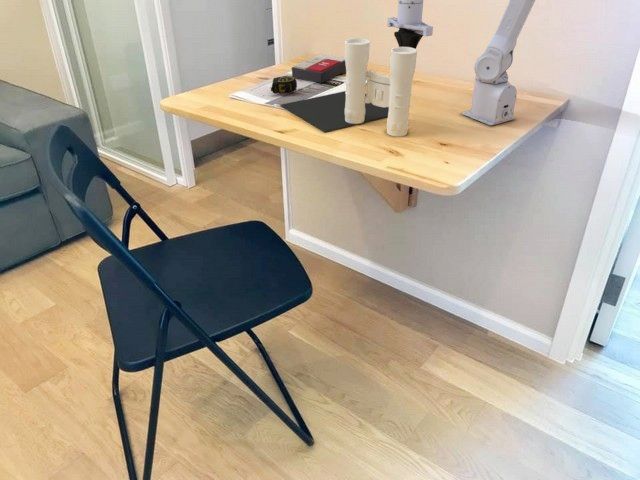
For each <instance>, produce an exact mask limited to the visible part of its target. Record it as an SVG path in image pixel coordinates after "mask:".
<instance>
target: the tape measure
mask: <svg viewBox="0 0 640 480" xmlns="http://www.w3.org/2000/svg"><path fill="white" fill-rule="evenodd" d="M297 88H298V83H297V78H294V77H292V75H282V76H276V77H273V79H272V83H271V86H270V91H271V92H272V93H273V94H291V93H294V92H295V91H296V90H297Z"/></svg>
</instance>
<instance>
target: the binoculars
mask: <svg viewBox="0 0 640 480" xmlns="http://www.w3.org/2000/svg"><path fill="white" fill-rule="evenodd" d="M370 44H371V41H370V40H369V39H366V38H361V37H360V38H359V37H353V38H348V39H346V40H345V41H344V57H345V63H346V73H345V77H346V78H345V91H346V92H345V94H346V102H345V121H346V122H347V123H351V124H358V125H360V124H359V123H362V122H364V117H365V110H366V109H365V103H372V104H373V105H376V106H379V107H389V112H388V117H387V120H386V134H387V135H389V136H392V137H404V136H407V135H408V129H409V126H410V108H411V96H412V87H413V81H414V80H413V79H414V75H415V71H416V67H417V56H418V49H417V48H416V49H414V48H411V47H399V46H396V47H392V48H391V49H390V59H389V75H385V74H381V73H378V72H376V71H373V70H371V69H368V66H369V65H368V64H369V59H370ZM365 94H366V96H365ZM362 124H363V123H362Z"/></svg>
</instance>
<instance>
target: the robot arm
mask: <svg viewBox="0 0 640 480" xmlns="http://www.w3.org/2000/svg"><path fill="white" fill-rule="evenodd" d="M397 1H398V3H397V4H398V5H397V17H394V16H392V17H387V22H386V23H387V25H386V26H387V27H388V28H395V29H398V30H397V31H394V33H393V36H394V37H395V39H396V43H397V45H398V47H411V48H414V49H416V50H417V47H418V45H419V43H420V41H421V40H422V38H423V37H431V36H433V32H434V27H433V25H429V24H427V23H426V22H423V8H424V0H397ZM535 3H536V0H509V1H508V3H507V6H506V8H505V10H504V13H503V15H502V18H501V19H500V21H499V24H498V26H497V28H496V30H495V33H494V35H493V37H492V38H491V39H490V41H489V43H488V44H487V46H486V49H485V50H484V52H483V53H482V54H481V55H480V56H478V58H476V60H475V63H474V66H473V67H474V69H473V70H474V73H475V77H474V85H473V92H472V99H471V105H470V110H465V111H463V112H462V115H463V116H466V117H467V118H471V119H473V120H475V121H478V122H481V123H483V124H485V125H488V126H495V125H498V124H499V125H500V124H502V123H507V122H509V121H513V120H515V116H514V112H515V105H516V101H517V94H518V92H517V88H516V86H515V85H512V84H511V83H510V81H509V74H508V73H507V70H509V69H510V67H511V66H512V64H513V61H514V50H515V48H516V47H517V40H518V38H519V36H520V34H521V31H522V29H523V28H524V26H525V24H526V21H527V19H528V17H529V15H530V13H531V10H532V8H533V6H534V4H535Z"/></svg>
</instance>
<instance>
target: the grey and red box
mask: <svg viewBox="0 0 640 480" xmlns="http://www.w3.org/2000/svg"><path fill="white" fill-rule="evenodd" d="M341 74H342V75H343V74H346V63H345V56H339V55H333V54H326V53H319V54H317V55H314V56H311V57H309V58H306V59H304V61H301V62H298V63H296V64H294V65H293V66H292V67H291V76H292V77H294V78H295V79H296V80H298V79H299V80H304V81H308V82H313V83H314V82H315V83H319V84H323V83H325V82H327V81H329V80H331V79H333V78H334V77H336V76H338V75H341Z"/></svg>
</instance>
